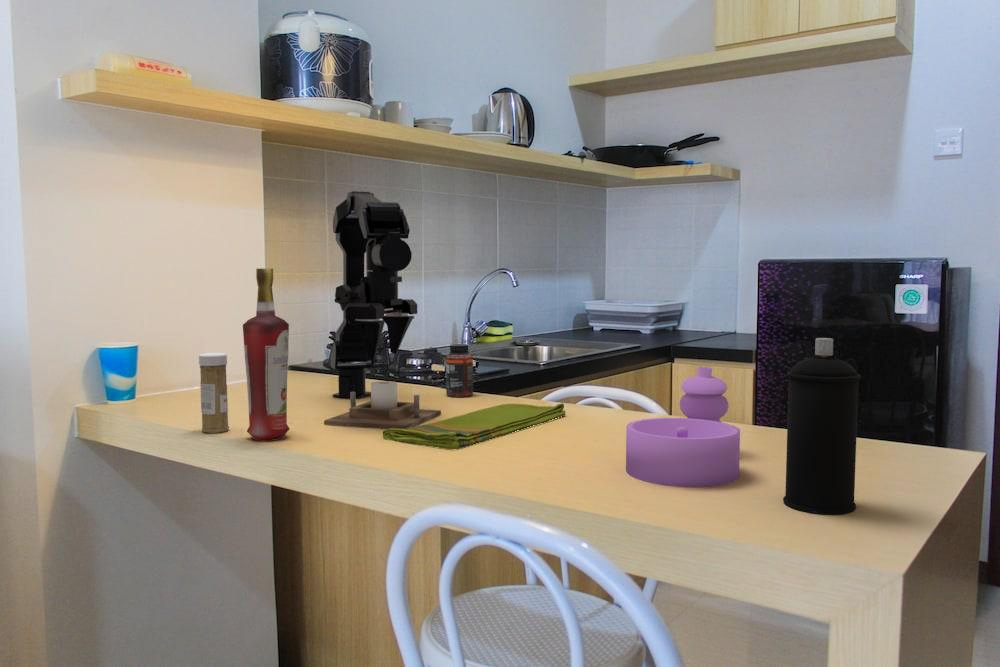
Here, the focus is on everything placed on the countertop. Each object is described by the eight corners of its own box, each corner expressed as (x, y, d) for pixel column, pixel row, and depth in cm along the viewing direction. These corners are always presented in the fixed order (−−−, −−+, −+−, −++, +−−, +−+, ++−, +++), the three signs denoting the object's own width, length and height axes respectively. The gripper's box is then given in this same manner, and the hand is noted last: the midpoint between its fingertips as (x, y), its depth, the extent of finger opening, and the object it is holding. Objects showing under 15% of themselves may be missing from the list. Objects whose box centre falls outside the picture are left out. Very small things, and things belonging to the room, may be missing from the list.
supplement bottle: (473, 393, 187) (473, 343, 187) (473, 397, 182) (473, 345, 181) (446, 393, 187) (446, 343, 186) (445, 397, 181) (445, 345, 180)
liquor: (261, 432, 144) (257, 268, 142) (299, 434, 142) (296, 268, 140) (236, 440, 137) (232, 268, 135) (276, 443, 135) (272, 268, 133)
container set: (727, 493, 106) (729, 390, 105) (611, 480, 113) (612, 382, 112) (758, 453, 129) (760, 367, 128) (660, 444, 135) (661, 362, 134)
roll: (378, 412, 159) (378, 380, 159) (401, 413, 158) (401, 381, 157) (366, 416, 154) (366, 383, 154) (390, 418, 153) (390, 384, 152)
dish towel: (379, 442, 139) (379, 423, 138) (500, 411, 168) (500, 395, 168) (454, 454, 130) (454, 433, 130) (567, 419, 160) (568, 402, 159)
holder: (365, 410, 166) (365, 385, 166) (441, 414, 161) (440, 389, 161) (324, 424, 151) (324, 398, 151) (406, 430, 146) (405, 402, 146)
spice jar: (233, 431, 145) (231, 353, 144) (208, 434, 142) (205, 355, 141) (221, 427, 148) (219, 351, 147) (196, 430, 145) (194, 353, 144)
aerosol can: (857, 518, 95) (863, 342, 94) (780, 510, 98) (785, 340, 97) (855, 499, 103) (861, 336, 101) (784, 492, 106) (789, 334, 104)
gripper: (366, 270, 165) (367, 349, 167) (316, 271, 148) (318, 359, 149) (418, 270, 162) (418, 351, 163) (374, 271, 144) (375, 362, 146)
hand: (383, 355), depth 155 cm, fingers open, 9 cm apart
